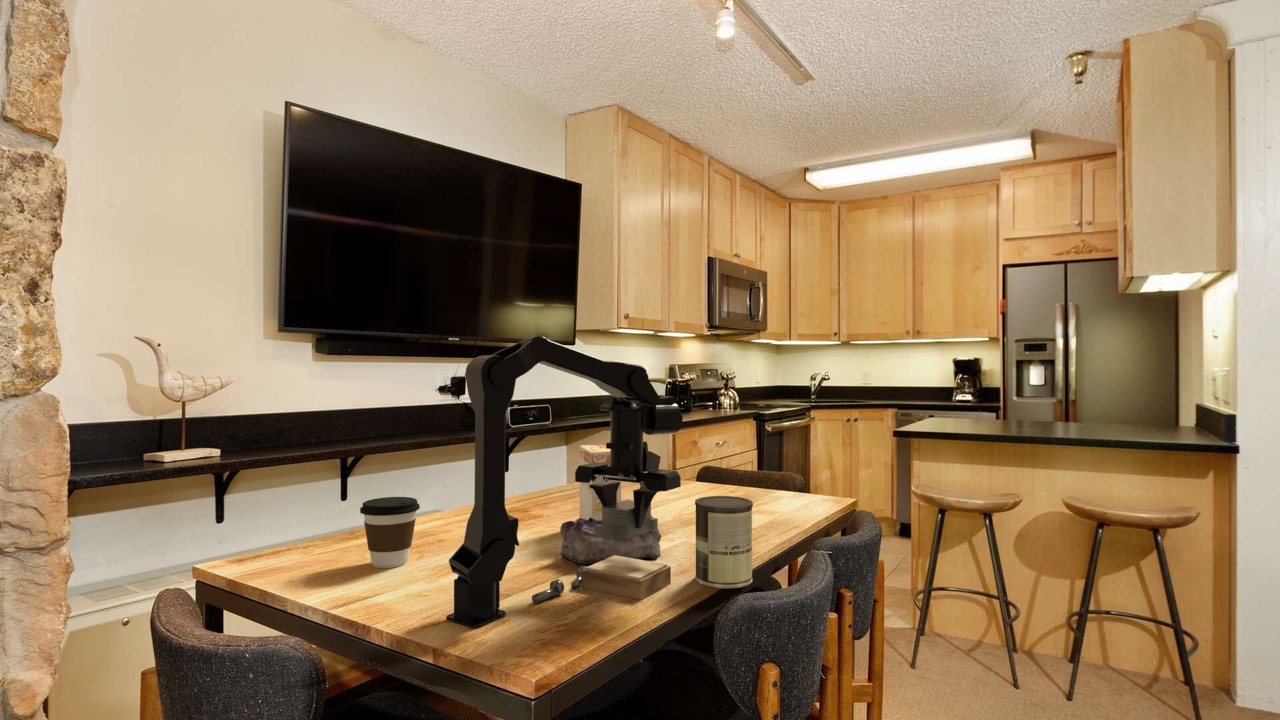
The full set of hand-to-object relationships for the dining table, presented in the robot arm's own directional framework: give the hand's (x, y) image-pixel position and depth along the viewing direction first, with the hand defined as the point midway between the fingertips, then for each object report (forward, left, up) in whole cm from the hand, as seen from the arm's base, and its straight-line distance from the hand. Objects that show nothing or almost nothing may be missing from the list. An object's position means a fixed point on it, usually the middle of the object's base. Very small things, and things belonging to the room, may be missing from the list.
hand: (626, 526), depth 119 cm
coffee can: (+12, -13, -11) cm, 21 cm away
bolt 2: (-4, +7, -10) cm, 13 cm away
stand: (0, 0, -10) cm, 10 cm away
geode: (+13, +12, -11) cm, 21 cm away
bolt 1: (-13, +7, -10) cm, 18 cm away
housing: (0, 0, -1) cm, 1 cm away
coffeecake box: (+29, +26, -11) cm, 40 cm away
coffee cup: (-13, +46, -11) cm, 49 cm away
